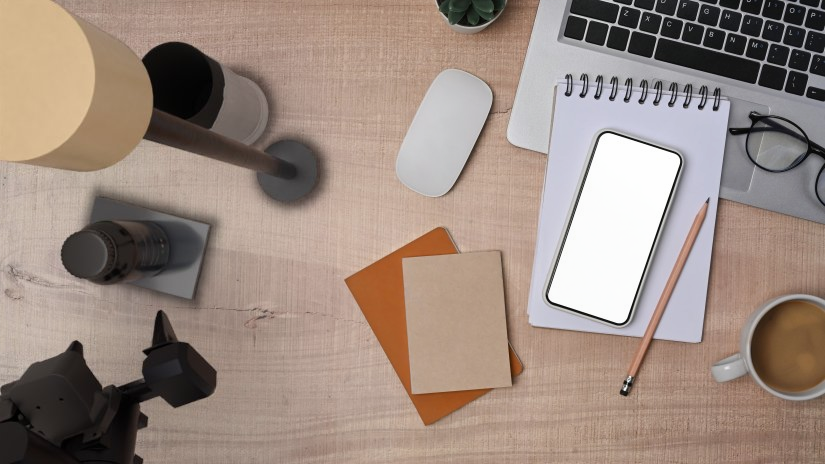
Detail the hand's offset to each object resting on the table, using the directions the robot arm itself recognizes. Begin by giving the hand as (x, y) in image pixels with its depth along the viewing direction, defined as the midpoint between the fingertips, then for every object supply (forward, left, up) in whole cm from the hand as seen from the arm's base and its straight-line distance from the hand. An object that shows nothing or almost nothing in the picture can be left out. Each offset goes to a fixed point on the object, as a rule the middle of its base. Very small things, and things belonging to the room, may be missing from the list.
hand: (120, 327), depth 61 cm
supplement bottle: (+4, +7, -10) cm, 13 cm away
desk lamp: (+22, 0, -11) cm, 24 cm away
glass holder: (+21, +12, -11) cm, 26 cm away
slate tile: (+4, +7, -11) cm, 13 cm away
